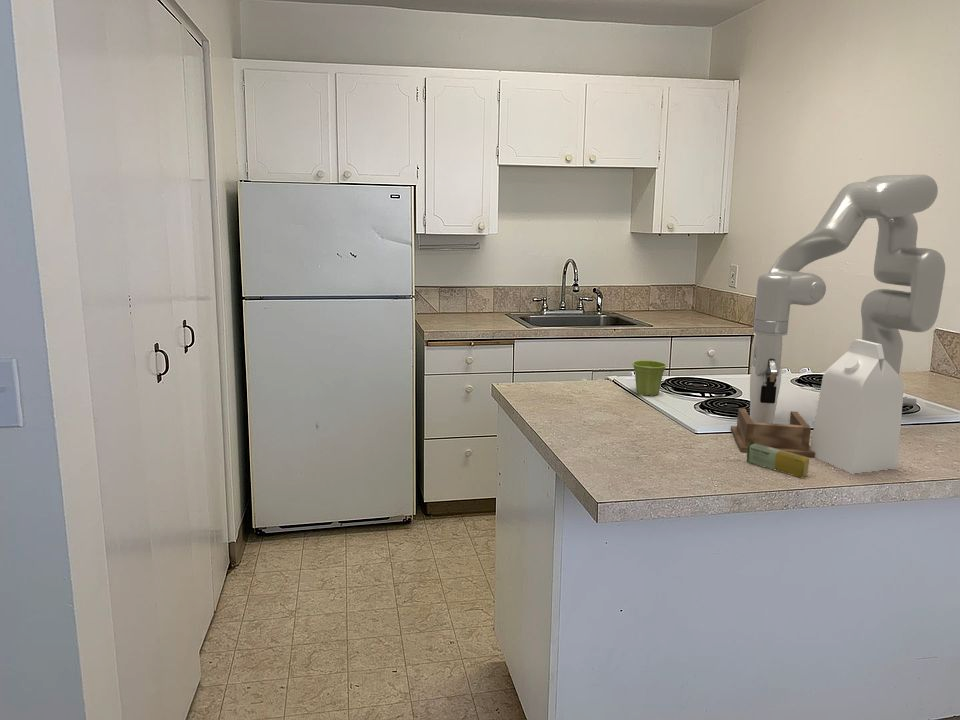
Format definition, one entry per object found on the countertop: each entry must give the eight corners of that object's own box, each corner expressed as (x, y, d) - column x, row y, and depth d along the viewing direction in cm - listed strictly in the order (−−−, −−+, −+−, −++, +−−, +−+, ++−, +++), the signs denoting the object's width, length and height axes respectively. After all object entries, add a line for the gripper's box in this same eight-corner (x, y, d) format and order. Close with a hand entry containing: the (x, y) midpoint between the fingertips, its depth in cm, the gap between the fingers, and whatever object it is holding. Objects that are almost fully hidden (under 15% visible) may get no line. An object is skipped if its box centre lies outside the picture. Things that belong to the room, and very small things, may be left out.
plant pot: (643, 387, 211) (645, 358, 209) (671, 394, 204) (673, 364, 202) (623, 393, 204) (625, 363, 202) (652, 399, 198) (654, 368, 196)
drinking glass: (778, 432, 170) (784, 370, 167) (748, 430, 172) (754, 368, 168) (773, 423, 177) (779, 364, 174) (743, 422, 178) (749, 362, 175)
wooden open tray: (797, 434, 169) (800, 409, 168) (814, 457, 154) (817, 430, 152) (730, 429, 172) (732, 405, 170) (740, 452, 156) (743, 425, 155)
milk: (897, 470, 147) (915, 346, 142) (851, 476, 144) (867, 348, 139) (852, 451, 159) (867, 335, 153) (808, 456, 155) (822, 337, 150)
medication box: (745, 462, 151) (746, 444, 150) (751, 459, 152) (753, 441, 151) (802, 479, 142) (804, 460, 141) (808, 475, 144) (810, 456, 143)
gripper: (747, 320, 178) (741, 387, 182) (760, 332, 161) (753, 406, 165) (780, 321, 177) (773, 389, 180) (795, 334, 160) (787, 408, 164)
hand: (763, 397), depth 173 cm, fingers open, 9 cm apart
